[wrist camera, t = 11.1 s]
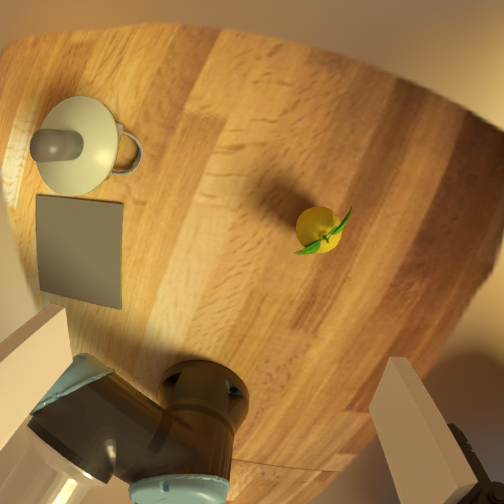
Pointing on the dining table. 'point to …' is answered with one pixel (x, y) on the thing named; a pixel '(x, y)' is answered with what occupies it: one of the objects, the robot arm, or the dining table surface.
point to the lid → (76, 146)
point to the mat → (80, 249)
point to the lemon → (319, 230)
